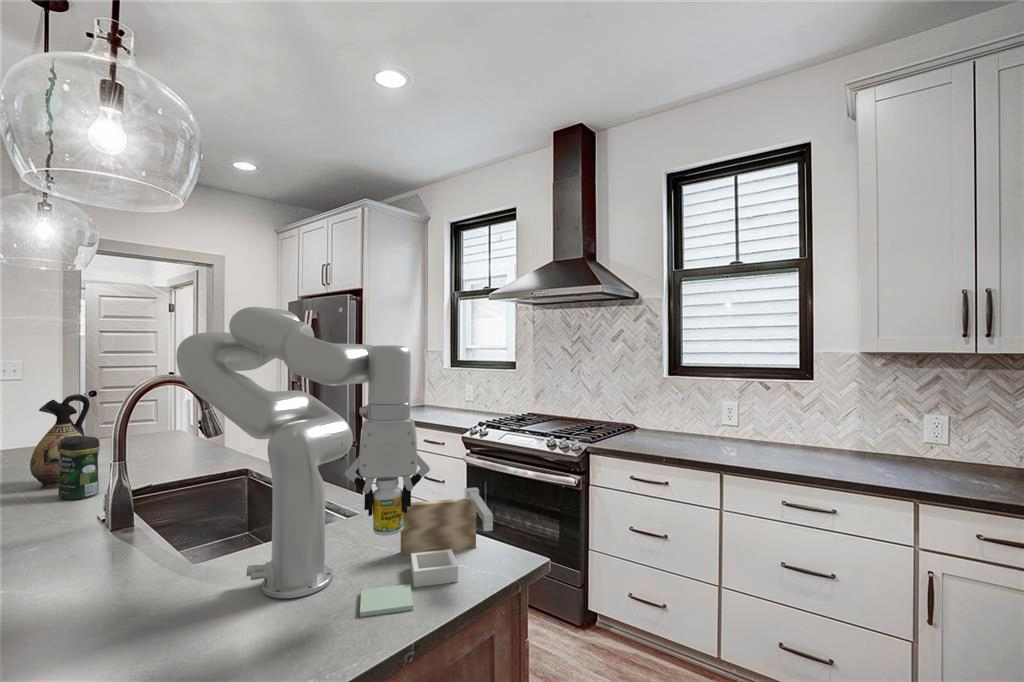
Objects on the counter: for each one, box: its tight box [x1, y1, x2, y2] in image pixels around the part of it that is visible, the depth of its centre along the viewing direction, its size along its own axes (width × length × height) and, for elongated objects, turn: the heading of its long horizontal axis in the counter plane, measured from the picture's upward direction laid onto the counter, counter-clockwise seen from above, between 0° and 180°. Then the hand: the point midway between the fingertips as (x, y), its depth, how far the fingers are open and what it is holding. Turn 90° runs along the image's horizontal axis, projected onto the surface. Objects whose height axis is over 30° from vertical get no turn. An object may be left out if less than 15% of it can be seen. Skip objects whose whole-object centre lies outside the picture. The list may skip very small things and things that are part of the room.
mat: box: [359, 583, 414, 618], centre depth 88 cm, size 9×8×1 cm
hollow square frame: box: [410, 549, 459, 588], centre depth 99 cm, size 9×9×3 cm
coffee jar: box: [58, 435, 101, 501], centre depth 148 cm, size 10×8×19 cm
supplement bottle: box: [372, 477, 404, 537], centre depth 88 cm, size 5×5×10 cm
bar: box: [463, 487, 494, 532], centre depth 105 cm, size 3×19×3 cm, turn 16°
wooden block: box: [399, 497, 477, 557], centre depth 111 cm, size 17×2×11 cm, turn 106°
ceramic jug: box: [29, 393, 91, 490], centre depth 161 cm, size 17×15×30 cm
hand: (387, 511), depth 88 cm, fingers closed on supplement bottle, 5 cm apart
